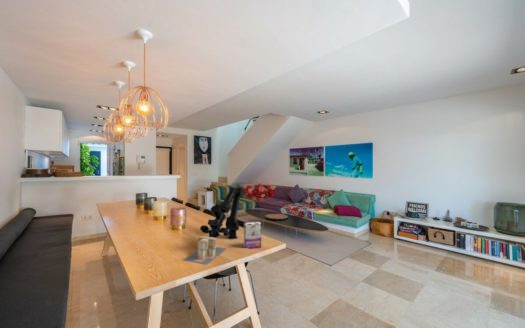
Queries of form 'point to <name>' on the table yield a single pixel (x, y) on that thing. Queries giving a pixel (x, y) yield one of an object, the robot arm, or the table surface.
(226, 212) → the robot arm
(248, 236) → the candy bar box
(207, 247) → the maple T block
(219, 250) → the slate board
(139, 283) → the table surface
